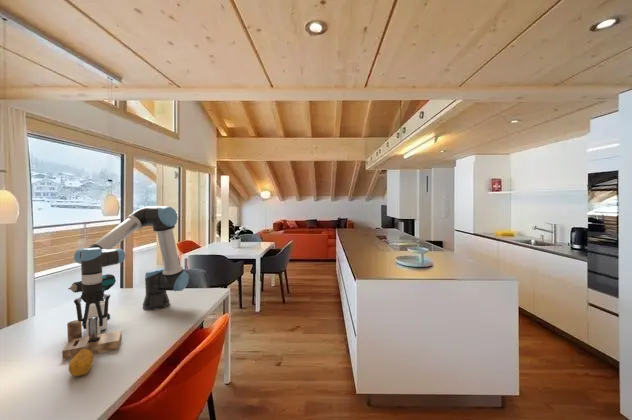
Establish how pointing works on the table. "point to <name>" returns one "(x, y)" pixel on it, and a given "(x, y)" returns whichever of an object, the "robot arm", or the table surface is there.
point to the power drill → (106, 281)
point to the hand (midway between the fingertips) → (93, 334)
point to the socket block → (93, 344)
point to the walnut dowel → (74, 329)
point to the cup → (94, 313)
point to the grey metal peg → (93, 329)
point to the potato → (81, 363)
